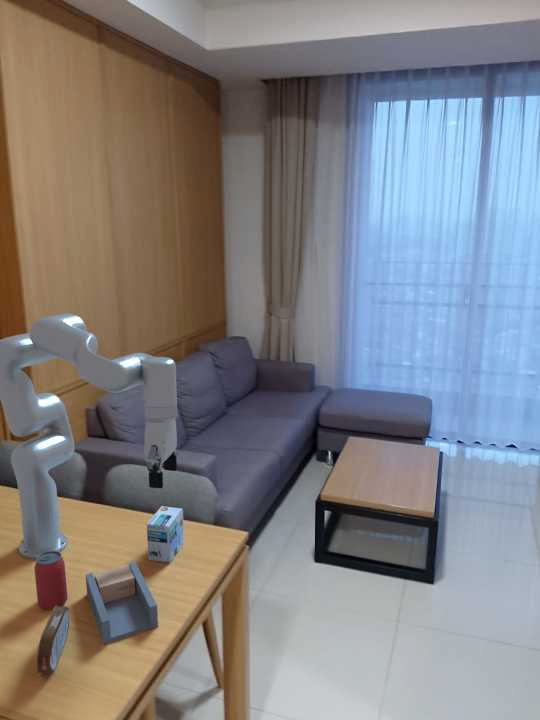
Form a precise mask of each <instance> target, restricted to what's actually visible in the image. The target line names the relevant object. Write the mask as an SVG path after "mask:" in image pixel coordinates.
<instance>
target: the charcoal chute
mask: <svg viewBox="0 0 540 720" xmlns="http://www.w3.org/2000/svg"><path fill="white" fill-rule="evenodd" d="M128 565H129V567H130V569H131V571H132V573H133V575H134V578H135V595H132V596H128V597H125V598H121V599H118V600H115V601H111V602H108V603H103V601H102V598H101V595H100V592H99V590H98V587H97V584H96V581H95V575H94V574H93V572H89V573H86V574H85V582H86V583H85V584H86V585H85V587H86V596H87V599H88V601H89V605H90V607H91V611H92V614H93V617H94V620H95V623H96V627H97V629H98V632H99V635H100V638H101V641H102V644H103V645H106V644H110V643H112V642H116V641H119V640H121V639H125V638H128V637H130V636H133V635H136V634H140V633H143V632H147V631H149V630H152V629H156V628H158V627H159V619H158V604H157V602H156V600H155V598H154V596H153V594H152V593H151V590H150V588H149V586H148V584H147V582H146V580H145V578H144V576H143V574H142V572H141V571H140V569H139V566H138V564H137V562H136V561H131V562H129V563H128Z"/></svg>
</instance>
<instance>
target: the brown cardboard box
mask: <svg viewBox="0 0 540 720" xmlns="http://www.w3.org/2000/svg"><path fill="white" fill-rule="evenodd" d="M93 576H94V579H95V581H96V584H97V587H98V590H99V592H100V595H101V598H102V601H103V603H108V602H111V601H115V600H118V599H121V598H125V597H128V596H132V595H135V578H134V575H133V573H132V571H131V569H130V567H129V564H127V565H123V566H118V567H115V568H111V569H108V570H104V571H99V572H95V573H94V574H93Z"/></svg>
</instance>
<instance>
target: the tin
mask: <svg viewBox="0 0 540 720" xmlns="http://www.w3.org/2000/svg"><path fill="white" fill-rule="evenodd" d="M69 612H70V608H69V607H68V606H66V605H65V606H63V605H62V606H55V607H54V609H52V610H51V613H50V615H49V618H48V619H47V622H46V625H45V626H44V629H43V630H42V634H41V636H40V640H39V644H38V647H37V648H38V649H37V657H36V669H37V673H38V674H50V673H53V672H54V671H55V670H56V667H57V665H58V663H59V660H60V658H61V655H62V652H63V650H64V647H65V644H66V642H67V637H68V634H69V628H70V619H69V618H70V613H69Z"/></svg>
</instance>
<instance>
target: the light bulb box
mask: <svg viewBox="0 0 540 720" xmlns="http://www.w3.org/2000/svg"><path fill="white" fill-rule="evenodd" d="M184 531H185V530H184V509H183V508H181V507H180V508H178V507H172V506H171V507H170V506H163V505H162V506H161V505H160V508H158V510H156V512H155V513H154V514H153V516H152V517H150V520H149V521H147V523H146V535H147V536H146V537H147V538H146V539H147V559H148V561H149V560H150V561H155V562H162V563H163V562H164V563H172V561H173V560H174V559H175V557H176V556H177V554H178V553H179V551H180V550H181V549H182V547H183V545H184V544H185V539H184V538H185V537H184V535H185V534H184V533H185V532H184Z"/></svg>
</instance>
